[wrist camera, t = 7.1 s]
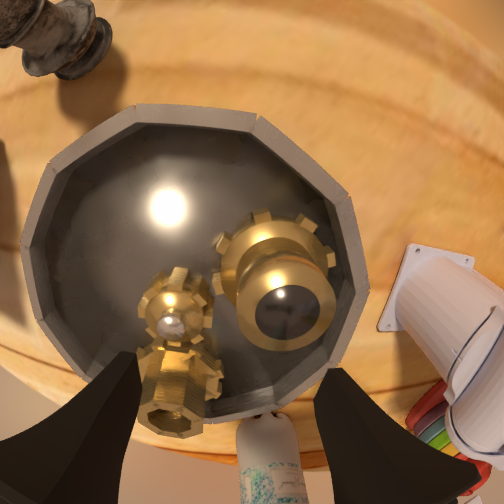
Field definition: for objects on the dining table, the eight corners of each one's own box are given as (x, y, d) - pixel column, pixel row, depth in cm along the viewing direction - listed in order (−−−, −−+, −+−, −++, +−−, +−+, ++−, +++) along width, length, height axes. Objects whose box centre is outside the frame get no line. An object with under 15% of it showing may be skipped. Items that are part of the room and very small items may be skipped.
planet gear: (241, 375, 21) (244, 429, 16) (179, 403, 22) (172, 451, 17) (179, 319, 18) (165, 374, 13) (120, 357, 19) (100, 405, 14)
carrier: (383, 150, 16) (448, 157, 10) (301, 402, 24) (315, 455, 18) (45, 113, 13) (-17, 111, 7) (72, 370, 22) (48, 416, 15)
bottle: (306, 417, 26) (344, 574, 7) (262, 440, 27) (279, 583, 8) (267, 396, 24) (295, 591, 5) (220, 422, 25) (223, 590, 6)
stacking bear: (464, 387, 29) (513, 460, 12) (419, 427, 32) (457, 502, 15) (445, 373, 26) (507, 467, 10) (391, 421, 29) (433, 517, 12)
